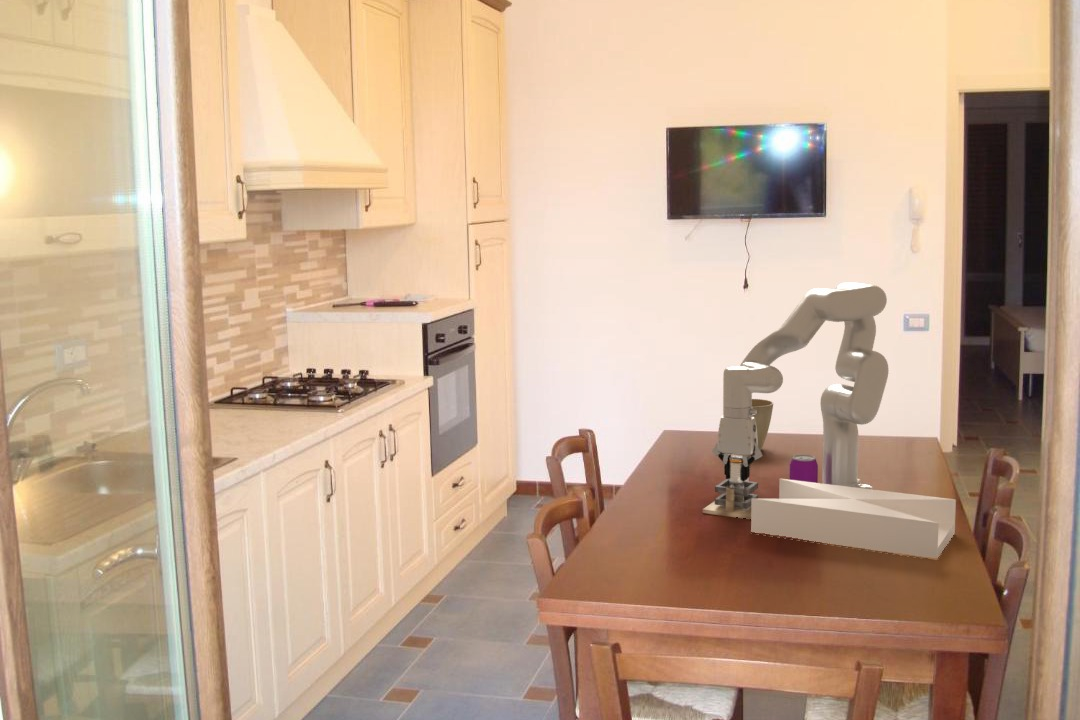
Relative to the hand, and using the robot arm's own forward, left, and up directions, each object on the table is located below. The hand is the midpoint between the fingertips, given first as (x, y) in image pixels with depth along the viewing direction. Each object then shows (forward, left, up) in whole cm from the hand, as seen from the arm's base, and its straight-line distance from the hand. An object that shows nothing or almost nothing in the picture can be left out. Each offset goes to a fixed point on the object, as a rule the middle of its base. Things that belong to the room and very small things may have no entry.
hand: (736, 478), depth 293 cm
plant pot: (+20, -68, -9) cm, 71 cm away
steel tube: (0, 0, -6) cm, 6 cm away
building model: (-33, +7, -9) cm, 35 cm away
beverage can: (-13, -18, -9) cm, 24 cm away
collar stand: (0, 0, -9) cm, 9 cm away
